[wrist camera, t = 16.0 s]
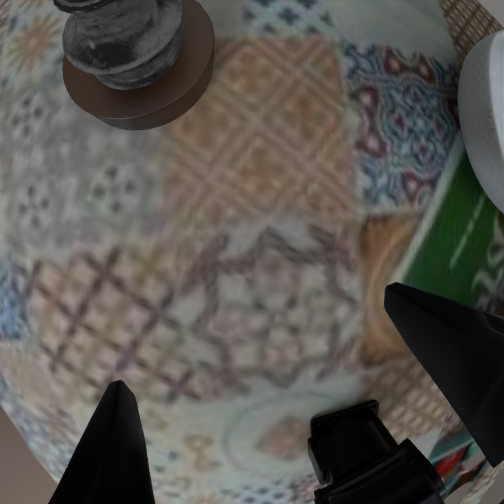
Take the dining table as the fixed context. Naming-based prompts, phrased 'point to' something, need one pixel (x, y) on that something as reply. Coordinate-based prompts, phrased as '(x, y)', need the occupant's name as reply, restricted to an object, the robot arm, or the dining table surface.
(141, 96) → the walnut puck
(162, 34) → the grey stone chess piece
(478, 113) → the cereal bowl
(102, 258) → the dining table surface
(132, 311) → the dining table surface
